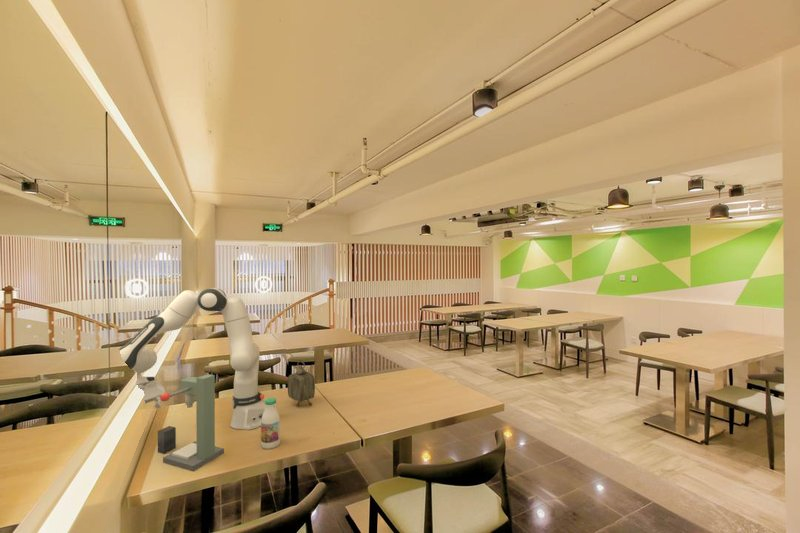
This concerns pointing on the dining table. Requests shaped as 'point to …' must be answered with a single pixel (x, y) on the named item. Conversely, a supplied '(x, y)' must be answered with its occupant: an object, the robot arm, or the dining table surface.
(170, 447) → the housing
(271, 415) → the milk bottle
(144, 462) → the dining table surface
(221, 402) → the dining table surface
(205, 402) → the press
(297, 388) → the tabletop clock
